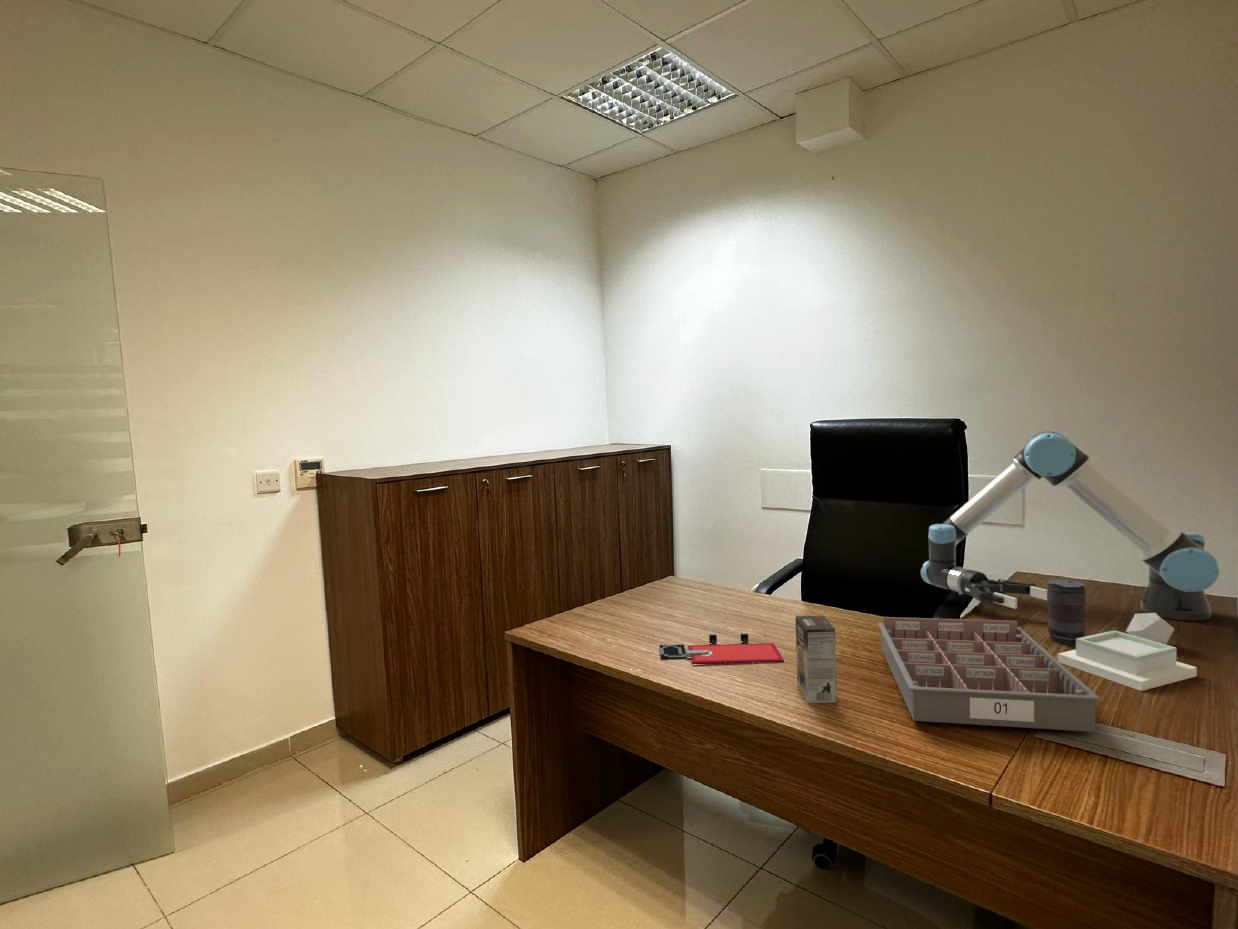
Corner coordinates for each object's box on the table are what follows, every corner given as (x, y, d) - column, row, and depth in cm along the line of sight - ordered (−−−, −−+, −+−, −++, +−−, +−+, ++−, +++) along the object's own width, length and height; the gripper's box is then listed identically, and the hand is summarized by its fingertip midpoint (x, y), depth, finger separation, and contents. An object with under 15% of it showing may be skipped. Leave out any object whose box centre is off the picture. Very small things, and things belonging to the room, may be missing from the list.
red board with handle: (658, 646, 176) (662, 668, 161) (658, 635, 175) (662, 657, 160) (770, 643, 175) (784, 665, 160) (770, 633, 175) (783, 654, 160)
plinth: (1110, 649, 159) (1110, 625, 159) (1196, 676, 142) (1197, 649, 142) (1057, 661, 153) (1057, 637, 153) (1140, 691, 136) (1141, 663, 136)
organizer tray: (910, 729, 125) (909, 679, 124) (877, 653, 164) (877, 614, 163) (1101, 742, 117) (1102, 688, 117) (1020, 659, 156) (1020, 619, 155)
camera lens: (1062, 633, 172) (1062, 577, 171) (1092, 643, 164) (1093, 584, 163) (1039, 637, 169) (1039, 581, 168) (1069, 647, 162) (1069, 588, 160)
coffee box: (796, 686, 146) (794, 615, 145) (825, 685, 146) (823, 614, 145) (806, 704, 137) (804, 629, 136) (837, 703, 137) (836, 628, 136)
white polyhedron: (1175, 656, 155) (1186, 620, 157) (1139, 638, 156) (1151, 602, 159) (1148, 657, 163) (1159, 622, 165) (1114, 639, 164) (1126, 605, 166)
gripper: (999, 589, 198) (1068, 607, 178) (935, 600, 190) (999, 620, 170) (999, 565, 197) (1068, 580, 177) (935, 574, 189) (999, 592, 169)
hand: (1035, 600), depth 174 cm, fingers open, 13 cm apart
